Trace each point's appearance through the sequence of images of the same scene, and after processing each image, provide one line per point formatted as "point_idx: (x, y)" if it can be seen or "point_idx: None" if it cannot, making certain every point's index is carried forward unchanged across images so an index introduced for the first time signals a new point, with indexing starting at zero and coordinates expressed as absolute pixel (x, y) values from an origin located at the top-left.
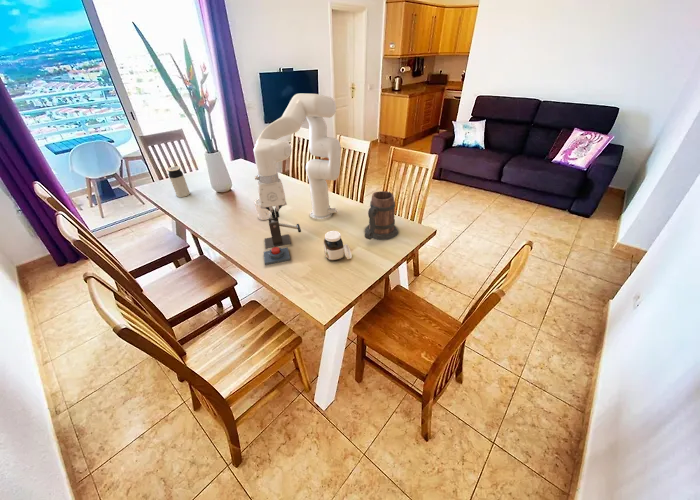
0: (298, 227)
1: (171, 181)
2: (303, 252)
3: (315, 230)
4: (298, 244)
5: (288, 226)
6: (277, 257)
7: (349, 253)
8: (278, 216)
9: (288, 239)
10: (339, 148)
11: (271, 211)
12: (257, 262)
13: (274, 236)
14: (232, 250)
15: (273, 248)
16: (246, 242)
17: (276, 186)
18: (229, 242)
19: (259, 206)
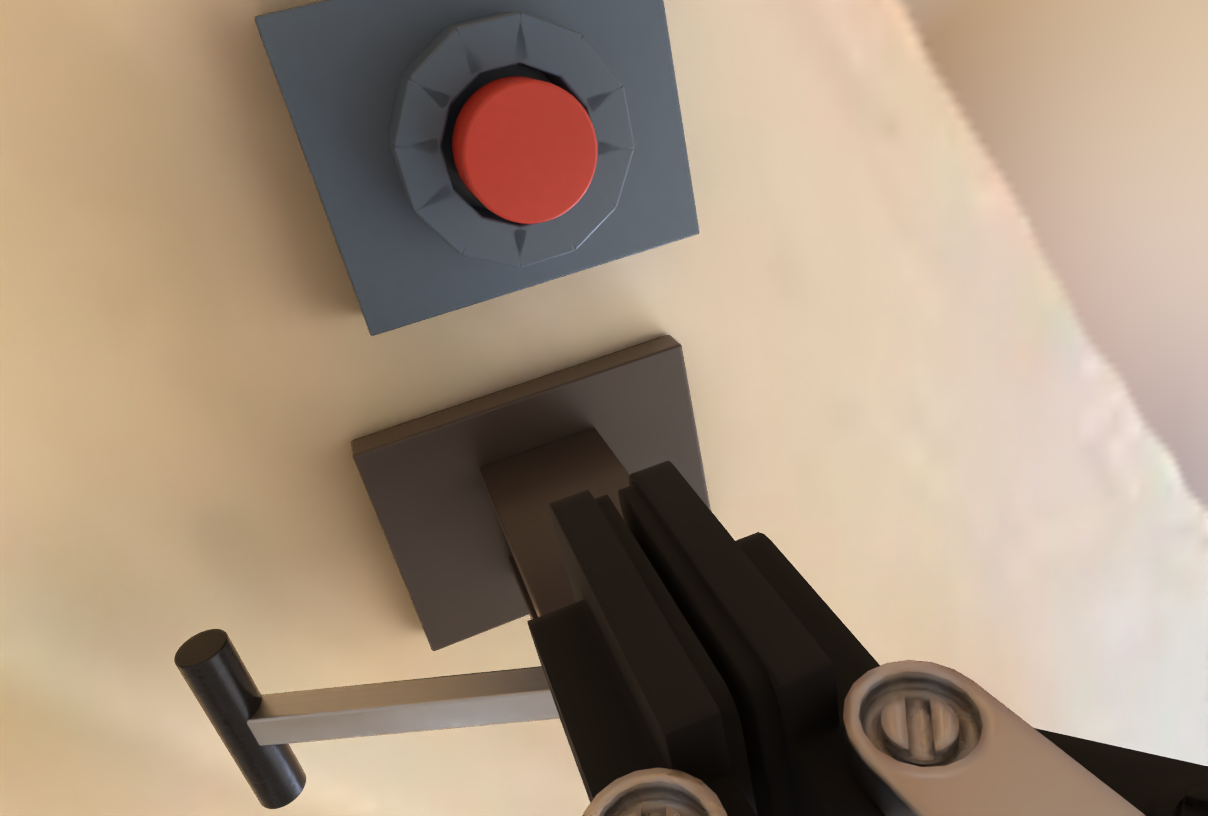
0: (238, 723)
1: None
2: (103, 279)
3: (74, 797)
4: (248, 475)
5: (404, 696)
6: (471, 22)
7: None
8: (563, 623)
9: (411, 546)
10: None
11: (920, 700)
12: (743, 65)
13: (599, 496)
14: (1012, 331)
15: (567, 178)
16: (887, 477)
17: None
18: (1036, 467)
19: None
